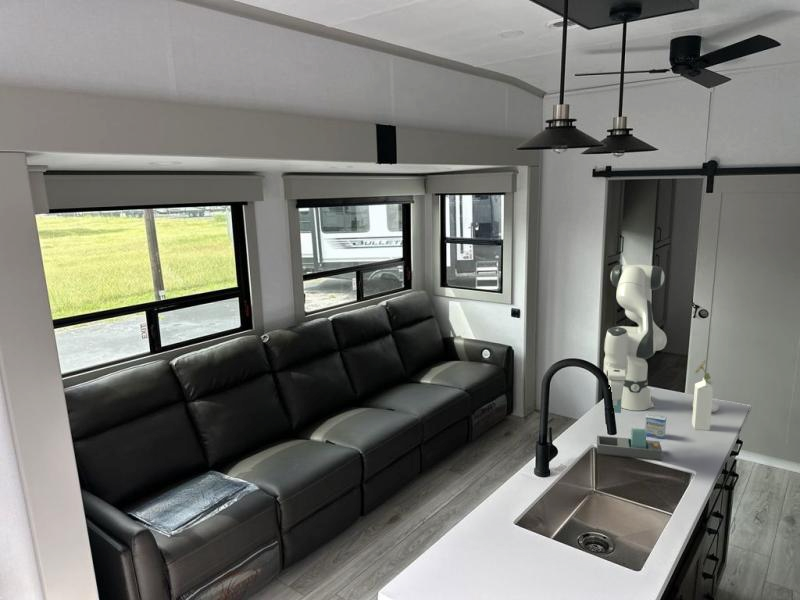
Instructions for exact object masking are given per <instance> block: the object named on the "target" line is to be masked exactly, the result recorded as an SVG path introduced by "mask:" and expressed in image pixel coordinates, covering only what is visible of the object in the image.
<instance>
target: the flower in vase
mask: <svg viewBox="0 0 800 600" xmlns="http://www.w3.org/2000/svg"><path fill="white" fill-rule="evenodd" d="M706 363H707V360H706V359H704V360H703V361H702V363H701V365H699V366H698V368H697V369H696V370H695V372H694V373H695V374H698V373H699V372H700V371H701V370H703V372H704V377H703V378H704V379H705V381H706V383H708V384H710V385H711V386H712V384H714V381H712V380H710V379H711V375H710V373H709V372H707V373H706V370H705V367H704V366H705V364H706ZM701 381H703V379H702V380H701ZM693 403H694V400H692V402H691V406H692V407H693ZM719 409H720V406H719V405H718V403H717V402H716V401H715V400H713V399H712V408H711V413H713V412H715V413H716V412H717V411H718V410H719Z"/></svg>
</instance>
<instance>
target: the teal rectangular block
mask: <svg viewBox="0 0 800 600" xmlns="http://www.w3.org/2000/svg"><path fill="white" fill-rule="evenodd" d="M621 401H622V398H621V399H620V400H618V401H617V405H613V407H614V413H613V414H621V413H622V407H621Z"/></svg>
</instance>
